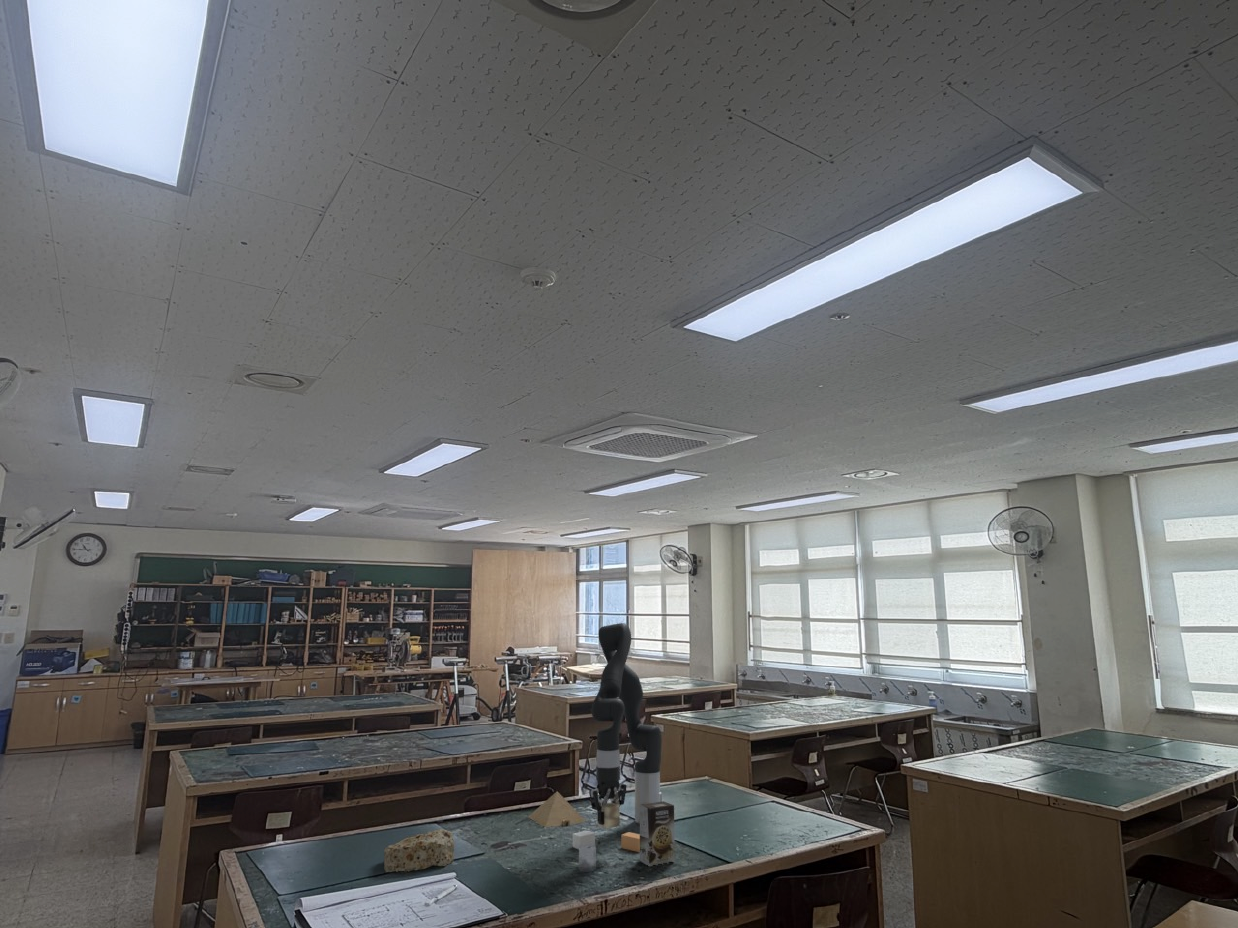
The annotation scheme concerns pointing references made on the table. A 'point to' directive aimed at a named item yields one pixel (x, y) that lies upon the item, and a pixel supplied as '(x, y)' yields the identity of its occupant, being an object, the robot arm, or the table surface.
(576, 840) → the off-white plastic block
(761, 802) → the table surface
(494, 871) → the table surface
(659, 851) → the coffee box
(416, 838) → the rock
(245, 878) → the table surface
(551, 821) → the model pyramid
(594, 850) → the brushed metal cylinder
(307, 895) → the table surface
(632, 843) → the orange plastic block
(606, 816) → the maple block
